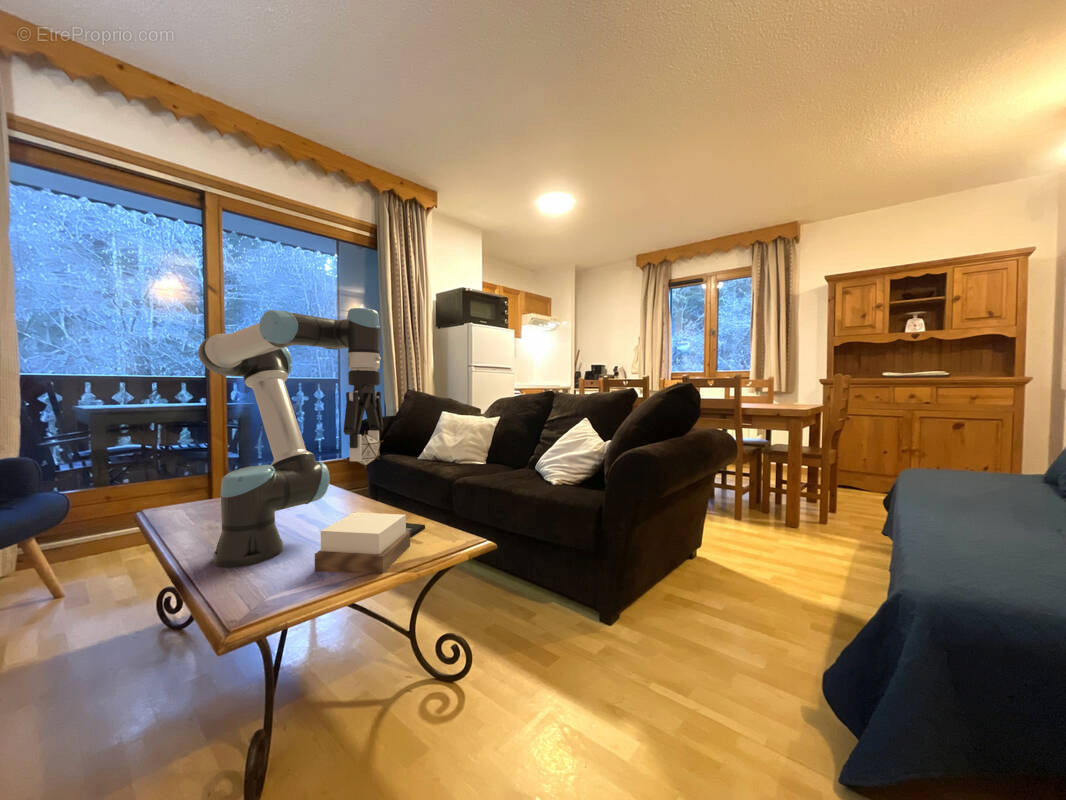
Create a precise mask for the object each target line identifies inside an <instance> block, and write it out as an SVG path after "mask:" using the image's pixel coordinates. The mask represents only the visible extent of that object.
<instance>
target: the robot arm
mask: <svg viewBox="0 0 1066 800" xmlns="http://www.w3.org/2000/svg"><path fill="white" fill-rule="evenodd" d="M380 329H381V325H380V314H379V313H378V311H377V310H374V309H371V308H365V307H352V308H350V309H349V310H348V311H347V316H346V319H345V318H344V319H333V318H327V317H319V316H315V315H307V314H302V313H295V312H291V311H286V310H277V309H276V310H274V309H270V310H267V311H265V312H264V313H263V315H262V316H261V318H260V321H259V322H258V323H255V324H252V325H250V326H247V327H244V328H242V329H239V330H236V331H234V332H231V333H216V334H214V335H211V336H209V337H207V338H205V339H204V340H203V341H201V343H200V345H199V347H198V353H197V355H198V358H199V360H200V362H201V363H202V365H203V366H204V367H205V368H207V370H209V371H210V372H213V373H215V374H218V375H221V376H225V377H226V376H227V377H242V378H243V381H244V384H245V385H246V386H247V387H248V388H251V389H252V390H253V394H254V397H255V402H256V404H257V407H258V410H259V413H260V417H261V420H262V424H263V427H264V431H265V434H266V437H267V440H268V444H269V447H270V451H271V453H272V456H273V457H272V458H273V461H272V463H271V464H257V465H252V466H246V467H242V468H238V469H235V470H233V471H230V472H228V473H227V474H225V475H224V476H223V477H222V479H221V487H220V492H219V494H220V495H219V496H220V509H221V514H220V515H221V534H220V536H219V538H218V541H217V546H216V548H215V551H214V553H213V565H214V566H215V567H218V568H223V569H224V568H225V569H227V568H228V569H231V568H243V567H248V566H253V565H256V564H261V563H264V562H267V561H269V560H272V559H273V558H275V557H277V556H279V555H280V554H282V552H283V551H284V547H283V546H284V545H283V544H284V543H283V542H284V541H283V540H282V539H281V537H280V533H279V530H278V528H277V525H276V515H275V514H276V512H277V511H282V510H286V509H289V508H290V509H291V508H294V507H297V506H301V505H308V504H311V503H313V502H317V501H319V500H321V499H322V498H323V497H325V495H326V493H327V491H328V489H329V486H330V472H329V468H328V466H327V464H325V463H324V462H323V461H319V460H316V457H315V455H314V453H312V452H311V451H308V450H307V449H306V445H305V442H304V439H303V436H302V432H301V429H300V427H299V423H298V420H297V418H296V414H295V411H294V407H293V405H292V401H291V399H290V395H289V392H288V388H287V386H286V383H285V382H286V381H287V380H288V378H289V375H290V374H291V371H292V369H293V365H292V363H293V359H292V355H291V353H290V351H289V349H288V348H289V347H291V346H305V347H307V346H308V347H317V348H323V349H325V350H336V351H337V350H341V349H347V353H348V355H347V360H348V361H347V368H348V369H350V370H349V371H348V373H347V374H348V377H347V378H348V379H347V380H348V383H347V384H348V385H349V386H353V390H352V391H347V392H346V393H345V396H346V398H345V400H346V404H345V414H344V424H343V434H344V435H345V436H347V435H348V436H349V438H348V439H349V441H348V444H349V445H348V446H349V457H350V458H349V462H357V461H362V435H363V434H360V433H361V427H362V424H363V423H362V422H363V419H364V414H365V415H366V418H367V424H368V427H369V430H367V435H369V436H370V437H372V438H374V439H376V440H378V441H380V431H383V429H384V420H383V410H382V402H381V398H382V396H381V395H382V392H381V391H376V390H375V387H376V386H380V384H381V372H380V371H379V369H381V368H380V367H381V365H380V363H381V362H380V361H381V360H382V358H381V357H380V353H381V351H380V350H381V348H380V347H381V346H380V345H381V344H380V343H381V342H380V341H381V340H380V338H381V335H380V334H381V331H380Z"/></svg>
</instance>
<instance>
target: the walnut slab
mask: <svg viewBox="0 0 1066 800" xmlns="http://www.w3.org/2000/svg"><path fill="white" fill-rule="evenodd" d="M410 547H411V538H410V532H409V531H406V533H405V534H404V535H402V536H401V537H400V538H399V539H397V540H396V541H395V542H394V543H393V544H391V545H390V546H389V547H388V548H386V549H385V550H384V551H383V552H381V553H380V554H363V553H346V552H329V551H321V549H319V551H317V552H315V553H314V572H319V573H320V572H324V573H363V574H364V572H365V573H366V572H375V573H374V574H383V573H385V572H386V571H387V570H388V569H389V568H390V567H391V566H392V565H394V564H395V562H396V561H397V559H398V558H400V557H401V556H402V555H403V554H404V553H405V552H406V551H407V550H408V549H409V548H410ZM366 574H367V573H366Z"/></svg>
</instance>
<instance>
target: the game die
mask: <svg viewBox="0 0 1066 800" xmlns="http://www.w3.org/2000/svg"><path fill="white" fill-rule="evenodd" d="M361 435H362V461H356V462H357V463H359V464H361V465H363V466H364V467H363V468H364V469H367V467H368V465H369V464H370V463H372V462H373V461H375V460H380V457H381V454H380V448H381V444H382V443H383V442H384V440H383V439H381V440H379V441H378V440H376V439H374V438H372V437H370V436H369V435H368V433H367V431H366V430H364V431H363V434H361ZM346 460H350V456H348V457H347V458H346Z"/></svg>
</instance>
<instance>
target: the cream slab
mask: <svg viewBox="0 0 1066 800" xmlns="http://www.w3.org/2000/svg"><path fill="white" fill-rule="evenodd" d="M406 516H407V515H406V514H397V513H395V514H394V513H379V512H378V513H375V512H353V513H350V514H349V515H347V516H345V517H344V518H342V519H339V520H337V521H336V522H334V523H332V524H330V525H328V526H327V527H325V528H324V529H321V530H320V550H321V551H329V552H346V553H363V554H380V553H381V552H383V551H384V550H385V549H386V548H388V547H389V546H390V545H391V544H393V543H394V542H395V541H396V540H397V539H399V538H400V537H401V536H402V535H404V534H405V533H406V523H407V517H406Z"/></svg>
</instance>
